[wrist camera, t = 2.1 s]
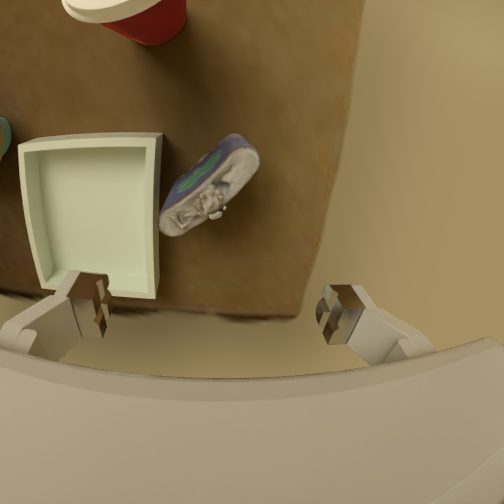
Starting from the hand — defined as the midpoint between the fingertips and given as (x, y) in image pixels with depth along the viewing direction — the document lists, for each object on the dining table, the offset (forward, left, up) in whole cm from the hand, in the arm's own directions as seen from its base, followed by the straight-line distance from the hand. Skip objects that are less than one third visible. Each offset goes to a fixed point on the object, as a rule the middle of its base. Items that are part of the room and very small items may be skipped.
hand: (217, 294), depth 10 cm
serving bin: (-12, -5, -20) cm, 24 cm away
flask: (0, 0, -20) cm, 20 cm away
